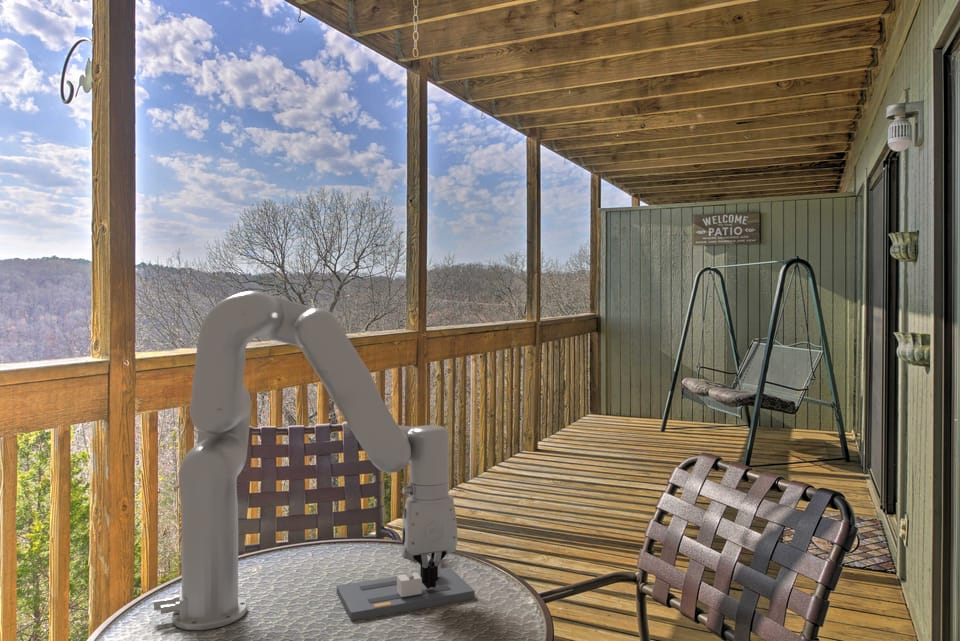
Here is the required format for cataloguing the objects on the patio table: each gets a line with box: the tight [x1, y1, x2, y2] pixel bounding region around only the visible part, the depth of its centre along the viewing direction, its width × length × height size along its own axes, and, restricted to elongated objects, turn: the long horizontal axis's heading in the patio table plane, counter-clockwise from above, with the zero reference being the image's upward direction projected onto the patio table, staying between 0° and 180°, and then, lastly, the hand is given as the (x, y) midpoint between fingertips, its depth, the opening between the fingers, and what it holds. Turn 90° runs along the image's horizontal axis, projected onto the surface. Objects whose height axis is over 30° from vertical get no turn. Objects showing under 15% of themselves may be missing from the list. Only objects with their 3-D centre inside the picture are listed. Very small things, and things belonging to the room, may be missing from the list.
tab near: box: [396, 570, 422, 597], centre depth 125 cm, size 4×3×4 cm
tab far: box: [416, 554, 442, 577], centre depth 133 cm, size 4×3×4 cm
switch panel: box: [336, 567, 476, 622], centre depth 128 cm, size 24×13×2 cm, turn 114°
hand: (429, 585), depth 127 cm, fingers closed
